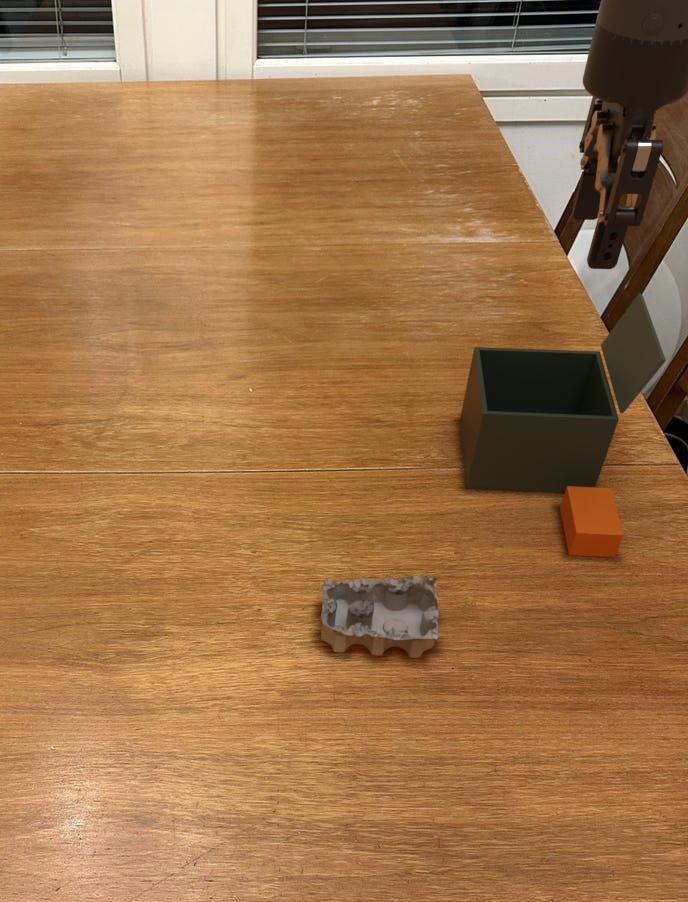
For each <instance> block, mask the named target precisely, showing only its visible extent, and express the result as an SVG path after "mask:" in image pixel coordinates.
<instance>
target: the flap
mask: <svg viewBox="0 0 688 902" xmlns="http://www.w3.org/2000/svg"><path fill="white" fill-rule="evenodd" d="M600 348H601V352H602V355H603V358H604V359H603V360H604V362H605V365H606V369H607V372H608V376H609V379H610V383H611V386H612V390H613V393H614V397H615V401H616V405H617V408H618V411H619V413H620V414H624V413H625V412H626V410H627V409H629V407H630V406H631V404H632V403H633V402H634V401H635V400H636V399H637V397H638V396H639V395H640V393H642V391H643V390H644V389H645V387H646V386H647V385H648V383H650V381H651V380H652V379H653V377H654V376H655V375H656V374H657V373H658V371H659V370H660V369H661V367H663V365H664V364H665V363H666V361H667V359H666V357H665V354H664V351H663V348H662V345H661V342H660V340H659V337H658V335H657V331H656V329H655V326H654V323H653V320H652V318H651V315H650V312H649V309H648V307H647V304H646V301H645V298H644V295H643V294H642V293H638V294H637V295H636V297H635V298H634V299H633V300H632V302H631V304H630V305H629V306H628V307H627V309H626V310H625V311H624V313H623V314H622V316H621V317H620V318H619V319H618V321H617V323H616V324H615V325H614V326H613V328H612V329H611V331H610V332H609V333H608V335H607V336H606V337H605V338H604V340H603V341H602V343H601V344H600Z"/></svg>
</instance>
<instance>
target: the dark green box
mask: <svg viewBox="0 0 688 902" xmlns="http://www.w3.org/2000/svg"><path fill="white" fill-rule="evenodd" d="M462 402H463V403H462V408H461V413H460V418H459V427H460V438H461V447H462V457H463V466H464V467H463V468H464V477H465V486H466V489H474V490H490V491H491V490H493V491H511V492H513V491H514V492H516V491H517V492H532V493H533V492H535V493H551V494H553V493H555V494H565V491H566V488H567V486H574V487H595V488H597V484H598V481H599V477H600V476H601V472H602V470H603V466H604V463H605V460H606V458H607V455H608V452H609V449H610V446H611V443H612V440H613V437H614V434H615V431H616V429H617V426H618V423H619V420H620V419H619V418H620V417H619V415H618V411H617V408H616V405H615V404H616V403H615V401H614V397H613V394H612V389H611V386H610V382H609V379H608V376H607V372H606V368H605V365H604V361H603V358H602V354H601V352H600V351H597V350H596V351H595V350H572V349H571V350H569V349H568V350H567V349H543V348H540V349H538V348H513V347H511V348H510V347H484V346H474V347H473V353H472V358H471V363H470V367H469V372H468V378H467V382H466V387H465V392H464V398H463V401H462Z"/></svg>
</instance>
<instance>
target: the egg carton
mask: <svg viewBox="0 0 688 902" xmlns="http://www.w3.org/2000/svg"><path fill="white" fill-rule="evenodd" d="M322 593H323V594H322V599H321V600H322V603H321V604H322V606H321V612H320V619H321V632H320V633H321V634H320V640H321V641H323V642H326V643H327V644H329V645H330V646H331V648H332V650H333V652H334V653H345V652H346V650H347V649H349V647H351V646H352V645H361V646H364V647H366V648H367V650H368V651H369V652H370V654H371V655H372V656H383V654H384V653H385V651H387V650H388V649H390V648H400V649H402V650H404V651H405V652H406V653H407V655H408V656H409V658H412V659H415V658H416V659H417V658H421V657H422V655H423V653H424V652H425V651H428V650H431V649H432V648H434V645H435V642H436V641H435V640H439V639H438V638H439V614H440V613H439V612H440V610H439V605H438V581H437V578H436V577H433V576H430V577H428V576H427V575H420V576H419V575H418V576H417V575H407V576H406V575H403V576H402V577H401V579H393V578H389V577H384V578H382V579H369V578H364V577H363V578H355V579H347V580H340V581H338V582H337V581H335V580H332V579H325V580H324V582H323V586H322Z"/></svg>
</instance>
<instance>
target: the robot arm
mask: <svg viewBox="0 0 688 902" xmlns="http://www.w3.org/2000/svg"><path fill="white" fill-rule="evenodd" d="M582 75H583V76H582V85H583V88H584V89H585V91H586V92H587V93H588V94H589V95H590V96H592V98H591V100H590V105H589V109H588V113H587V116H586V121H585V124H584V129H583V133H582V136H581V140H580V141H579V145H578V149H579V153H580V154H582V157H581V158H580V160H579V161H580V162H579V165H580V170H582V172H581V174H580V178H579V183H578V186H577V190H576V196H575V199H574V202H573V207H572V217H573V219H575V220H577V221H578V220H579V221H580V220H583V221H594V220H596V225H595V229H594V232H593V236H592V239H591V242H590V247H589V250H588V253H587V257H586V263H587V265H588V266H587V267H588V268H589V269H592V270H612V269H614V268H616V267H617V265H618V262H619V258H620V255H621V252H622V248H623V245H624V241H625V238H626V235H627V232H628V229H629V227H640V226H641V224H642V222H643V220H644V215H645V211H646V208H647V204H648V200H649V197H650V194H651V190H652V187H653V184H654V180H655V177H656V173H657V169H658V166H659V162H660V159H661V156H662V153H663V150H664V141H663V140H662V139H656V137H657V128H658V127H657V124H654V122H655V114H656V113H657V111H658V110H659V109H661V108H662V107H664V106H667V105H672V104H675V103H677V102H679V101H680V100H682V99H684V97H686V96H687V94H688V0H601V1H600V3H599V7H598V12H597V16H596V20H595V25H594V29H593V33H592V37H591V41H590V46H589V51H588V54H587V58H586V63H585V67H584V71H583V74H582ZM612 175H615V176H612ZM624 195H626V203H625V205H623V206H622V205H620V201H621V198H622V196H624Z"/></svg>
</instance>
